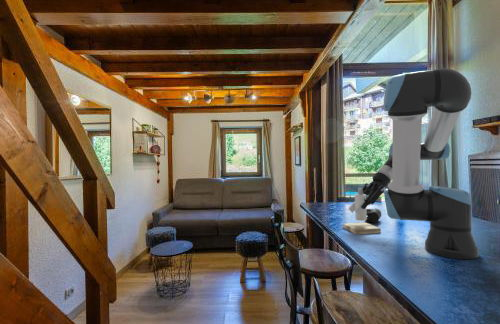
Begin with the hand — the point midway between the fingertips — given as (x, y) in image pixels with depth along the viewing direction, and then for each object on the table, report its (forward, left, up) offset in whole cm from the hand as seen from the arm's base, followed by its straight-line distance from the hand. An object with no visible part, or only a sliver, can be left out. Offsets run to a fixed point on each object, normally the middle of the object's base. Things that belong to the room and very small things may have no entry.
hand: (353, 211), depth 119 cm
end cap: (+13, -18, -9) cm, 24 cm away
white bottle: (0, -4, -4) cm, 5 cm away
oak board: (0, -3, -9) cm, 10 cm away
